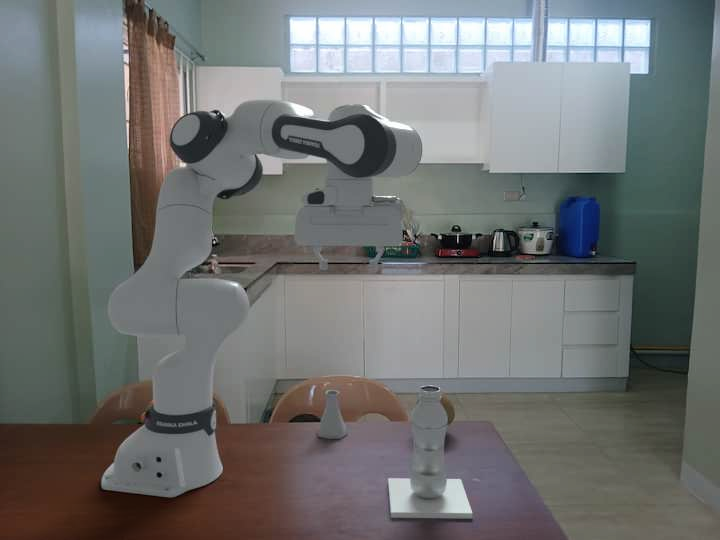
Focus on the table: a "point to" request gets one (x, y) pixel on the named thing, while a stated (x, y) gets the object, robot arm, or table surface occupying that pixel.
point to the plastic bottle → (428, 444)
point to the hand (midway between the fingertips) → (348, 269)
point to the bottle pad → (428, 501)
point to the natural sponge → (446, 407)
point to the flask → (332, 418)
